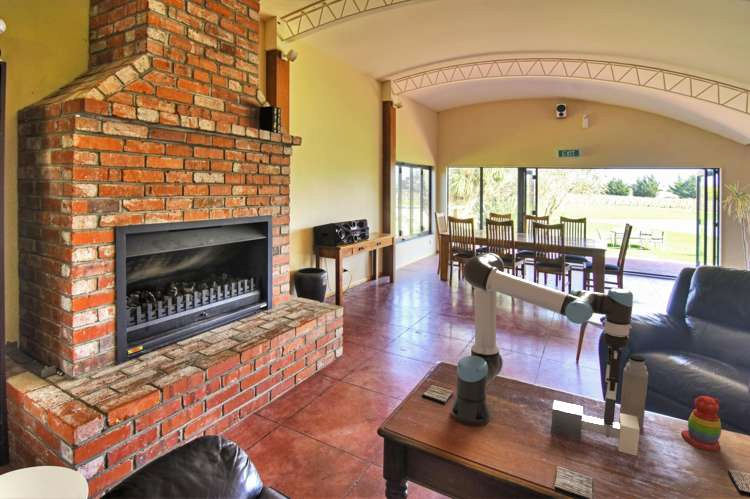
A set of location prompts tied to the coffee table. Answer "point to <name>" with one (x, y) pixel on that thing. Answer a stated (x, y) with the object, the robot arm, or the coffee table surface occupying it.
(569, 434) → the grey block
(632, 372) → the thermos bottle
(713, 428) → the stacking bear
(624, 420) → the socket block
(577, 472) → the coffee table surface
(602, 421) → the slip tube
